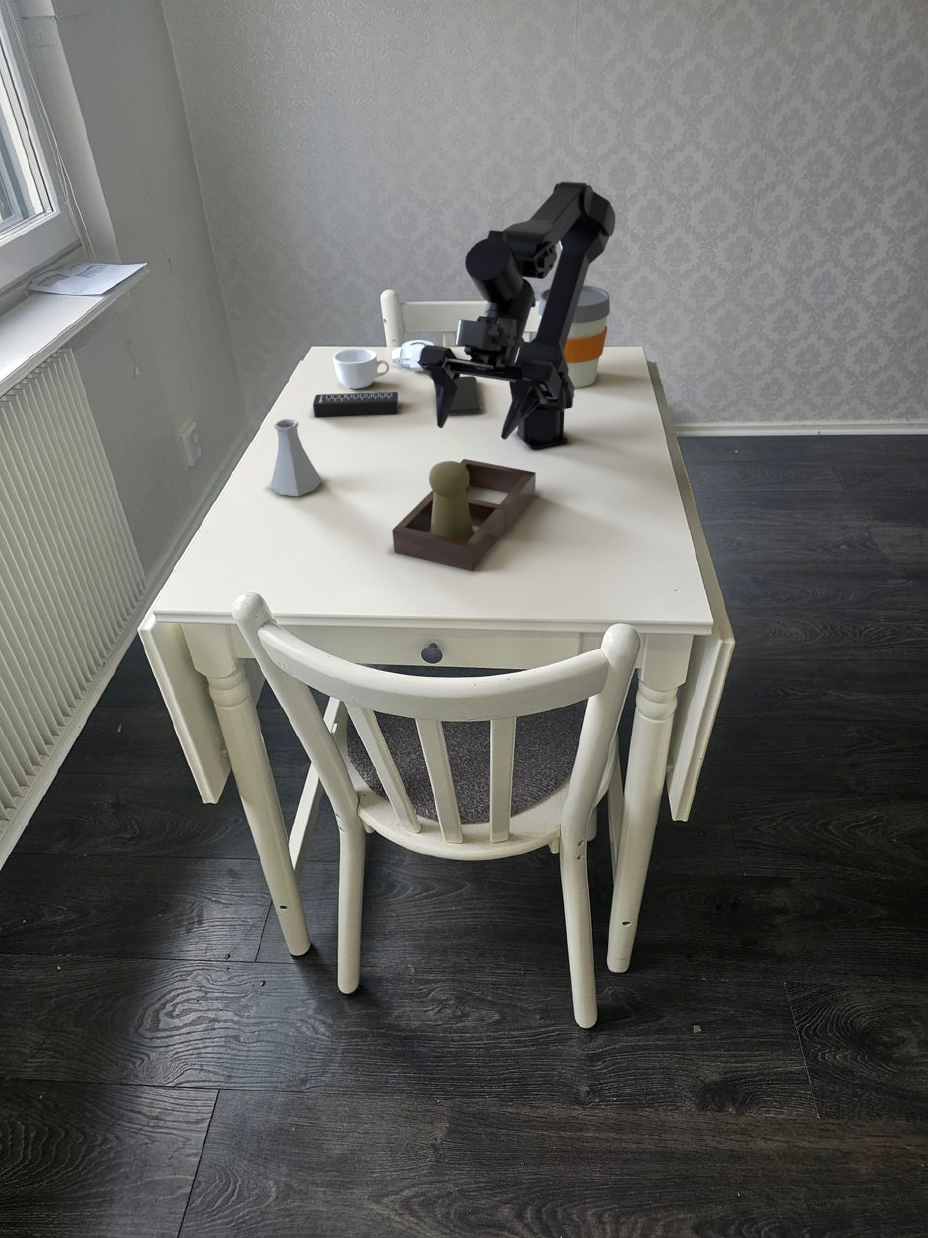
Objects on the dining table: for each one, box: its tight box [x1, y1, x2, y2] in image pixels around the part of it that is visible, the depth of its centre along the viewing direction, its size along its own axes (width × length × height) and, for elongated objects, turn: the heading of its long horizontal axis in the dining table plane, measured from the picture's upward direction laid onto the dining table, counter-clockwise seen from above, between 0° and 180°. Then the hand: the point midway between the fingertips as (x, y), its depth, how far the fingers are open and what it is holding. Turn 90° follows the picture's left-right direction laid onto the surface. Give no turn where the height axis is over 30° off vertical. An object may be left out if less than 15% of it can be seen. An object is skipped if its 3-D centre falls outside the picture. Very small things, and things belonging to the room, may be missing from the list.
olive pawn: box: [428, 460, 475, 542], centre depth 111 cm, size 6×6×11 cm
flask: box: [270, 418, 323, 497], centre depth 125 cm, size 7×7×10 cm
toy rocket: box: [391, 339, 435, 372], centre depth 167 cm, size 16×10×2 cm, turn 1°
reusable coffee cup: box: [537, 284, 611, 389], centre depth 153 cm, size 13×13×15 cm
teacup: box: [333, 348, 390, 390], centre depth 157 cm, size 10×8×5 cm
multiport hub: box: [312, 391, 400, 418], centre depth 148 cm, size 4×14×2 cm, turn 91°
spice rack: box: [391, 458, 537, 572], centre depth 117 cm, size 22×11×4 cm, turn 155°
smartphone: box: [449, 375, 482, 415], centre depth 152 cm, size 7×1×15 cm
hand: (470, 432), depth 112 cm, fingers open, 9 cm apart
